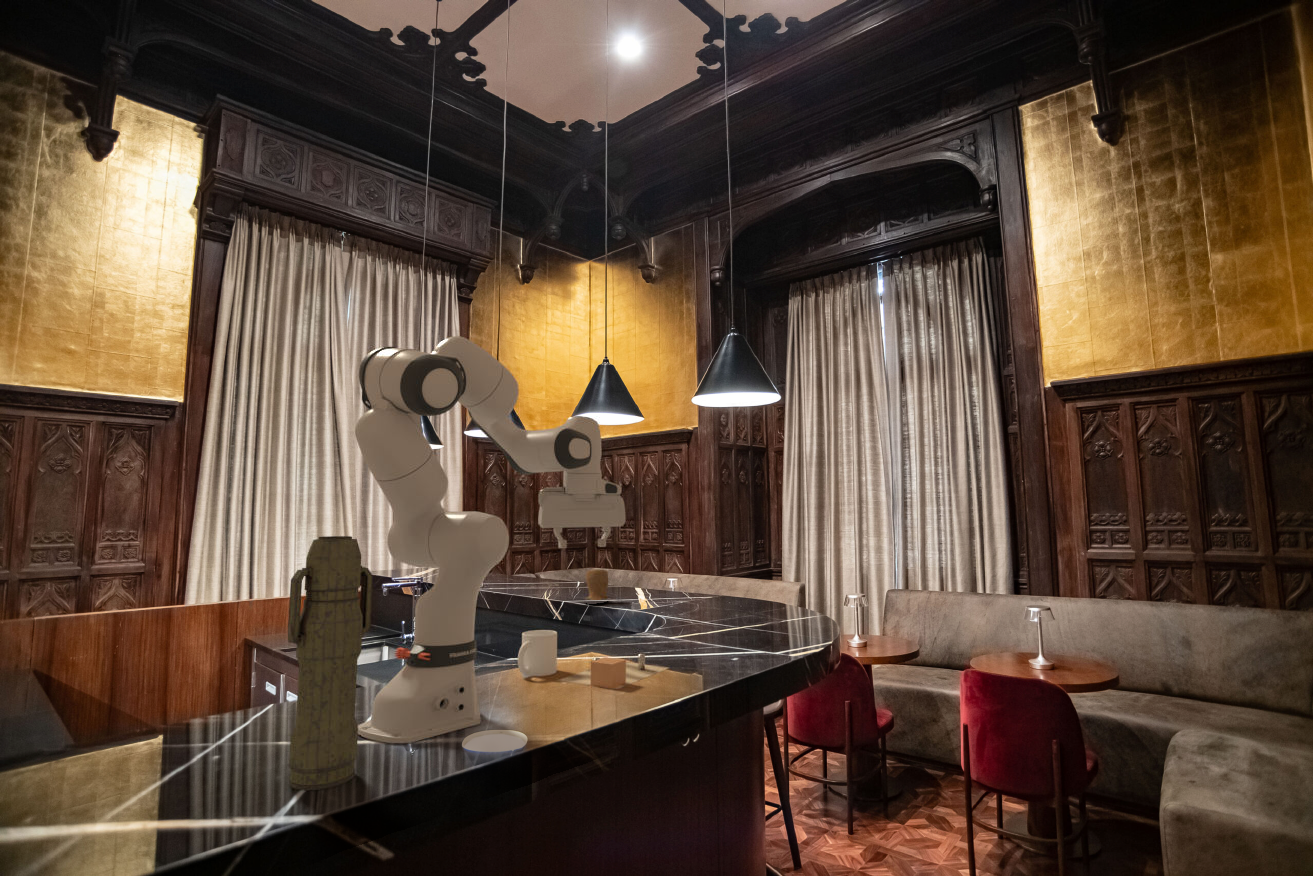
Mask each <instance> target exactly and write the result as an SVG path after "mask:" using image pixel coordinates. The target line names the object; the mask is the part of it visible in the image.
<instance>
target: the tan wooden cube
mask: <svg viewBox="0 0 1313 876" xmlns="http://www.w3.org/2000/svg"><path fill="white" fill-rule="evenodd" d="M626 662H627V659H624V658H623V659H622V658H614V657H602V658H601V657H600V659H598V660H595V661H593V660H592V661H590V669H591V685H592V686H591V687H595V686H599V687H598V688H602V687H605V688H604V689H609V688H614V687H617V686H619V685H622V684H624V683H626Z"/></svg>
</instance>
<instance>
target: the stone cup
mask: <svg viewBox="0 0 1313 876" xmlns="http://www.w3.org/2000/svg"><path fill="white" fill-rule="evenodd" d="M585 582H586V584H587V589H588V597H585V598H584V599H590V600H601V599H607V598H611V597H610V596H608V595H607V590H608V585H609V574H608V571H607V570H606V569H590V570H587V571H586V572H585Z"/></svg>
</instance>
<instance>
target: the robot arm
mask: <svg viewBox="0 0 1313 876" xmlns="http://www.w3.org/2000/svg"><path fill="white" fill-rule="evenodd" d="M358 381H359V385H360V388H361V401H362V404H363V405H364V406H365V407H366V408H367V409H369V410H367V411H366V412H364V414H362V416H360V418H359V419H358V420H357V422H356V424H355V427H354V433H355V435H354V436H355V438H356V439H355V440H356V442H357V444H358V447H359V450H360V452H361V455H362V457H363V459H364V461H365V464H366V465H367V468H368V469H369V471H370V473H371V474H372V476H373V477H374V479H375V481H376V483H377V485H378V486H379V487H380V489H381V491H382V493H383V495H384V497H386V500H387V501H388V503H389V505H390V507H391V510H392V513H393V518H394V521H393V523H391V525H390V529H389V530H388V533H387V538H386V539H387V541H386V543H387V549H388V552H389V554H390V556H391V557H392V559H394V560H396V561H397V562H400V563H402V564H405V565H408V566H413V567H415V568H429V569H430V568H434V569H435V568H438V573H437V578H436V581H435V583H434V584H433V586H432V587H431V588H430V589H429V590H426V591H425V592H424V593H422V594H421V595H420V596H419V598H418V600H417V601H416V604H415V611H414V612H415V613H414V615H415V616H414V617H415V619H414V639H413V642H412V643H411V645H410V648H408V647H406V648H404V647H397V648H396V650H395V651H394V657H395V658H396V659H399V660H405V661H404V663H405V664H404V666H403V668H402V669H401V670H399V672H397V674H395V676H394V677H392V679H391V680H390V681H388V683H387V684H386V685H385V686H384V687H383V688H381V690H380V691H378V692H377V694H376V696H375V698H374V700H373V705H372V711H371V715H370V720H368V721H365V722H363V723H360V724H357V725H358V736H360V735H361V737H363V738H366V739H369V740H372V741H377V742H381V743H382V742H384V743H393V744H409V743H414V742H417V741H421V740H426V739H429V738H433V737H436V736H440V735H444V734H447V733H451V732H454V731H458V730H462V729H465V728H470V727H473V726H477V725H480V724H481V723H482V719H481V714H482V713H481V708H480V705H479V699H478V688H477V678H476V672H475V659H476V658H477V648H478V647H477V640H476V638H475V627H476V626H475V624H476V623H475V622H476V609H477V601H478V596H479V593H480V590H481V587H482V585H483V583H484V581H485V579H486V578H487V576H488V575H489V573H490V571H491V570H492V569H493V568H494V567H495V566H497V564H499V563H500V562H501V561H502V560H503V558H505V555H506V554H507V551H508V548H509V543H510V535H509V531H508V527H507V525H506V524H505V522H504V521H503V519H502V518H500V517H499V516H497V515H494V514H489V513H485V512H481V511H474V510H473V511H450V510H449V511H448V510H446V509H445V508H444V507H443V506H442V504H441V502H442V500H443V499H444V498H445V496H446V494H447V491H448V487H449V479H448V476H447V475H446V472H445V471H444V469H443V467H442V465H441V462H440V461H439V459H438V458H437V456H436V454H435V452H434V450H433V448H432V447H431V445H430V443H429V441H428V440H427V438H426V436H425V435H424V433H423V429H422V428H423V427H422V423H421V416H423V417H424V416H425V417H435V416H440V415H443V414H446V413H447V412H449V411H450V410H451V409H452V408H453V407H455V405H456V404H457V403H459V404H460V405H461V406H463V407H465V409H467V411H468V415H469V417H470V419H471V420H472V422H473V423H474V425H476V427H477V428H478V429H479V430H480V431H481V432H482V433H483V434H484V435H485V436H486V437H487V438H488V439H489V440H490V442H492V443H493V444H494V445H495V446H496V447H497V448H498V449H499V450H500V451H501V452H502V453H503V455H504V457H505V458H506V460H507V461H508V463H509V465H510V466H511V468H512V469H513V470H514V471H515V472H517V473H518V474H520V475H526V476H527V475H533V474H538V473H551V472H552V473H553V472H554V473H555V472H563V478H562V479H563V483H562V484H563V486H555V487H551V486H547V487H546V486H545V487H544V488H543V489H541V490H539V492H538V497H537V500H538V505H539V509H538V519H537V521H538V522H537V523H538V525H539V526H540V528H542V529H552V528H553V534H554V536H555V538H556V539H557V541H558V543H557V545H558V549H567V546H568V545H567V543H568V542H567V540H566V539H564V538H563V537H562V535H561V533H563V528H564V529H565V528H601V531H602V532H603V534H602V536H601V538H598V539H597V547H599V548H604V547H607V539H608V537H609V536H610V534H611V532H612V529H611V528H613V527H623V526H624V525H625V523H626V520H627V519H626V506H625V501H624V498H623V497H622V496H621V495H620V494H622V486H621V485H619V484H616V483H614V482H611V481H608V480H605V479H603V478H602V476H603V474H602V470H601V461H602V452H603V451H602V449H603V448H602V435H601V429H600V425H599V423H598V421H597V420H595V419H594V418H592V417H588V416H581V415H575V416H574V415H573V416H570V417H568V418H567V419H566V422H565V423H563V424H561V425H559V426H557V427H555V428H547V429H536V430H529V429H528V430H527V429H523V428H522V429H521V428H519V427H518V426H517V425H516V424H515V423H514V422H513V421H512V420H511V418H510V417H508V416H509V415H510V414H511V412H513V410H514V409H515V406H516V405H517V402H518V399H519V384H518V381H517V379H516V377H514V375H513V374H512V373H511V372H510V370H509V369H508V368H507V367H505V365H503V363H502V362H500V361H499V360H498V359H497V358H495V356H493V355H492V354H490V353H489V352H488V351H487V350H485V349H484V348H482V346H479V345H478V344H476V343H475V342H473V341H472V340H470V339H468V338H466V337H463V336H460V335H459V336H458V335H455V336H449V337H447V338H445V339H444V340H442V341H440V342H439V343H438V344H436V346H435V348H434V349H433V350H432V352H431V353H429V352H424V351H420V350H419V349H415V348H414V349H413V348H409V347H408V348H407V347H396V346H383V347H380V348H379V347H378V348H377V349H374V350H372V351H370V352H369V353H367V354H366V355H365V356H364V357H363V359H362V361H361V362H360V366H359V370H358Z"/></svg>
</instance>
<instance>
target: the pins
mask: <svg viewBox="0 0 1313 876" xmlns="http://www.w3.org/2000/svg"><path fill="white" fill-rule="evenodd" d="M637 654H638V657H637V658H638V660H637V664H638V670H645V665H646V654H645V653H637ZM598 659H601V657H593V660H592V661H595V660H598Z"/></svg>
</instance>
